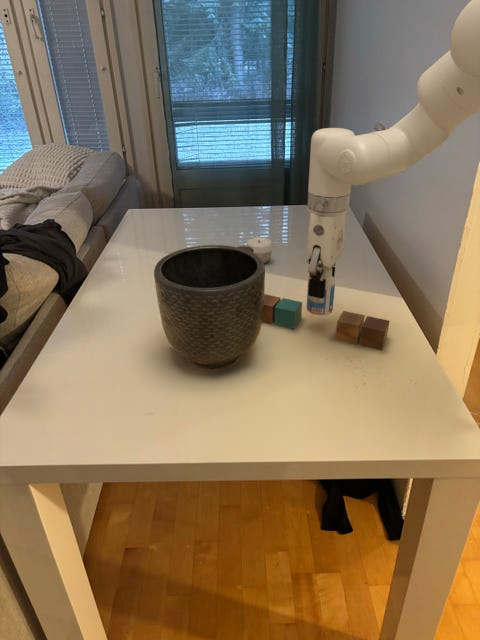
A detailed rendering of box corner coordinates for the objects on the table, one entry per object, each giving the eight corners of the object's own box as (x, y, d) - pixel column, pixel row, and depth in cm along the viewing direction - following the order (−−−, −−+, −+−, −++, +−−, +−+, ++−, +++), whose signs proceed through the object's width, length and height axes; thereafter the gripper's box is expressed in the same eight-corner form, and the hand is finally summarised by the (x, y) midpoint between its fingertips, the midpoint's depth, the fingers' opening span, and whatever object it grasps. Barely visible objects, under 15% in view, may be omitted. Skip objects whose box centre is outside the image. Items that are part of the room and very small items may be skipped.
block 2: (301, 319, 103) (302, 302, 100) (293, 329, 99) (294, 311, 97) (282, 315, 104) (282, 297, 102) (274, 325, 101) (274, 307, 99)
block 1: (280, 315, 104) (280, 297, 102) (272, 324, 101) (272, 306, 99) (261, 310, 106) (261, 293, 104) (253, 320, 103) (253, 302, 100)
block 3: (362, 333, 97) (364, 315, 95) (356, 344, 94) (359, 325, 92) (341, 329, 99) (343, 310, 97) (335, 339, 96) (337, 320, 93)
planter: (255, 390, 82) (256, 295, 72) (150, 379, 86) (136, 286, 76) (269, 331, 99) (271, 247, 89) (180, 323, 102) (172, 241, 92)
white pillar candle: (239, 263, 129) (239, 241, 125) (254, 253, 134) (254, 232, 131) (264, 269, 125) (264, 247, 122) (278, 259, 131) (279, 237, 127)
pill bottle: (322, 301, 100) (326, 259, 95) (337, 312, 96) (342, 269, 91) (301, 307, 98) (303, 264, 93) (315, 319, 94) (318, 275, 88)
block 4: (386, 339, 95) (389, 320, 93) (382, 350, 92) (385, 331, 90) (364, 334, 97) (367, 315, 95) (359, 345, 94) (362, 326, 91)
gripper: (334, 218, 77) (326, 313, 86) (360, 191, 90) (350, 276, 99) (292, 213, 80) (288, 305, 89) (322, 187, 93) (316, 270, 102)
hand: (321, 289), depth 94 cm, fingers closed on pill bottle, 5 cm apart
